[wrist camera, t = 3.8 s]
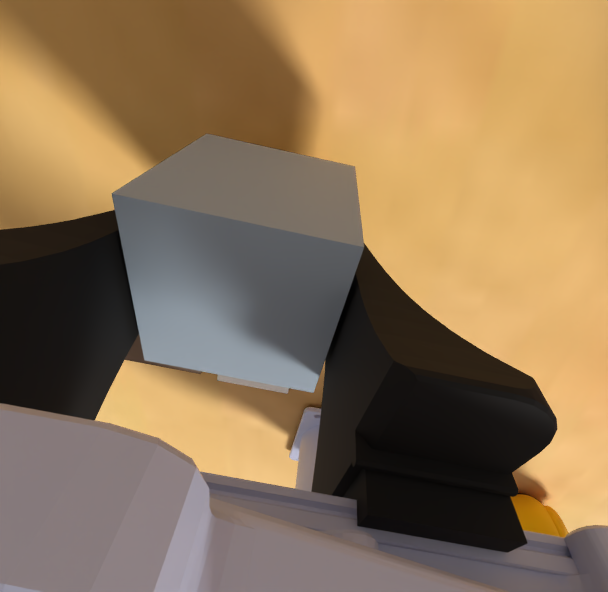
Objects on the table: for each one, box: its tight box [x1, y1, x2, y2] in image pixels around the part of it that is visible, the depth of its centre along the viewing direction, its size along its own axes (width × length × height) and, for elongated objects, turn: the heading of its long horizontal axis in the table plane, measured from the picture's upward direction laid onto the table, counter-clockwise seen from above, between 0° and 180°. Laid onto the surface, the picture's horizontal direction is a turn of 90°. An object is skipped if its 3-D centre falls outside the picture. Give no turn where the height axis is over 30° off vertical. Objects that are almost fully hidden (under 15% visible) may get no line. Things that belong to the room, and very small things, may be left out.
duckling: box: [510, 494, 568, 538], centre depth 26 cm, size 11×5×10 cm, turn 39°
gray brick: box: [112, 134, 364, 393], centre depth 10 cm, size 5×5×6 cm
